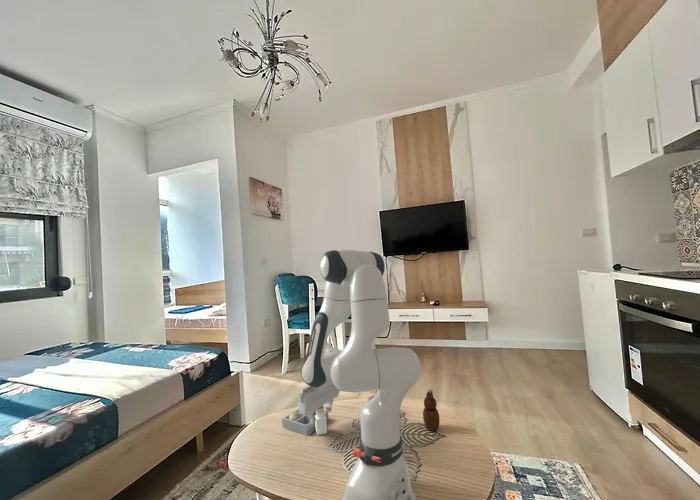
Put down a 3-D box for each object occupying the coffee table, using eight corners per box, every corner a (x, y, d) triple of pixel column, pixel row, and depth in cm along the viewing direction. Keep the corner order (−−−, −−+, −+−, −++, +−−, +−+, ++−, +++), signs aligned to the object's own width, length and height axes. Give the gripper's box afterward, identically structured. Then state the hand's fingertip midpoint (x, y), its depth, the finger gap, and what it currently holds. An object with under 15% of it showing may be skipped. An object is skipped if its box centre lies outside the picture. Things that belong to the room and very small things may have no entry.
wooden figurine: (442, 432, 117) (438, 391, 117) (426, 433, 117) (423, 392, 118) (437, 423, 124) (434, 384, 124) (422, 424, 124) (419, 385, 124)
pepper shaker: (317, 436, 120) (315, 410, 121) (315, 430, 124) (313, 406, 125) (327, 433, 122) (325, 408, 122) (325, 428, 125) (323, 404, 126)
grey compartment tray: (306, 435, 121) (306, 426, 121) (282, 427, 129) (282, 418, 129) (328, 420, 132) (328, 411, 132) (305, 413, 139) (304, 405, 140)
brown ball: (295, 428, 126) (294, 416, 126) (286, 425, 129) (286, 413, 129) (303, 422, 130) (302, 411, 130) (295, 420, 133) (294, 408, 133)
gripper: (306, 392, 114) (308, 431, 113) (340, 373, 130) (343, 407, 130) (293, 389, 117) (296, 427, 117) (329, 370, 134) (331, 404, 134)
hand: (321, 416), depth 124 cm, fingers open, 8 cm apart
